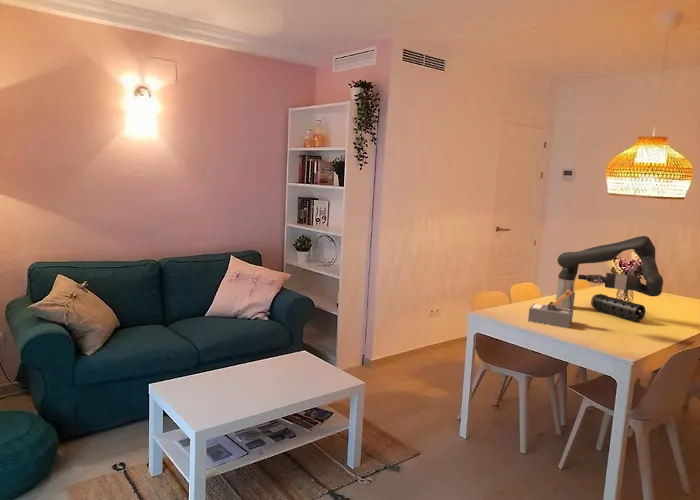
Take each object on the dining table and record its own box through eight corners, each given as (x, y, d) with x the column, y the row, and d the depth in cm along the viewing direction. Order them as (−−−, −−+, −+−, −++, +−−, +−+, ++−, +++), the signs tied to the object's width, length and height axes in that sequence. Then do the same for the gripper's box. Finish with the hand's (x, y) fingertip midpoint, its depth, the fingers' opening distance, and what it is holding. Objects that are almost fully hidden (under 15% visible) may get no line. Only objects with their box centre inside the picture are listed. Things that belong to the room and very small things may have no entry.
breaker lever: (548, 306, 273) (568, 290, 267) (549, 304, 277) (569, 289, 272) (551, 310, 273) (571, 294, 267) (552, 308, 277) (572, 292, 271)
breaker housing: (528, 321, 275) (529, 302, 273) (533, 315, 287) (534, 298, 285) (568, 328, 265) (570, 309, 264) (571, 322, 277) (573, 304, 276)
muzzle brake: (633, 323, 281) (636, 305, 279) (588, 310, 305) (590, 293, 304) (644, 322, 285) (646, 304, 284) (599, 309, 310) (601, 292, 308)
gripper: (614, 290, 253) (576, 285, 261) (615, 286, 264) (579, 281, 273) (616, 275, 252) (577, 271, 260) (617, 272, 263) (580, 267, 272)
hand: (578, 276), depth 266 cm, fingers closed
